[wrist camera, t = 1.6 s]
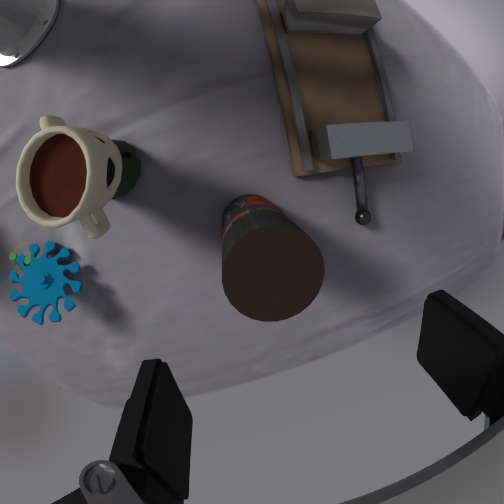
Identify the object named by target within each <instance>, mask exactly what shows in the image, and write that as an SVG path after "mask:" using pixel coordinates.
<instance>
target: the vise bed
mask: <svg viewBox="0 0 504 504" xmlns="http://www.w3.org/2000/svg"><path fill="white" fill-rule="evenodd" d="M256 3H257V7H258V10H259V14H260V18H261V21H262V25H263V29H264V33H265V37H266V41H267V45H268V49H269V53H270V58H271V62H272V66H273V71H274V75H275V79H276V84H277V89H278V93H279V98H280V103H281V108H282V112H283V117H284V123H285V128H286V133H287V138H288V144H289V149H290V155H291V160H292V166H293V172H294V176H303V175H309V174H316V173H322V172H329V171H336V170H344V169H351V168H352V164H351V158H350V157H347V158H339V159H314V156H313V150H312V144H311V139H310V133H309V131H310V130H313V129H316V128H319V127H322V126H325V125H334V124H348V123H365V122H395V116H394V111H393V106H392V101H391V96H390V92H389V87H388V83H387V79H386V75H385V71H384V67H383V63H382V59H381V56H380V52H379V49H378V46H377V42H376V39H375V36H374V33H373V30H372V27H371V26H373V25H374V24H375V23H377V22H378V21H379V20H381V19H382V17H381V15H380V12H379V9H378V7H377V4H376V2H375V0H256ZM362 163H363V167H367V166H376V165H385V164H395V163H401V155H400V152H399V153H386V154H375V155H365V156H362Z"/></svg>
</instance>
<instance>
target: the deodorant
mask: <svg viewBox="0 0 504 504" xmlns="http://www.w3.org/2000/svg"><path fill="white" fill-rule="evenodd" d="M323 278H324V261H323V257H322V255H321V252H320V250H319V247H318V246H317V245H316V244H315V242H314V241H313V240H312V239H311V238H310V237H309V236H308V235H307V234H306V233H305V232H304V231H303V230H301V229H300V228H299V227H298V226H297V225H296V224H295V223H293V222H292V221H291V220H290V219H289V218H288V217H287V216H285V215H284V214H283V213H282V212H281V211H280V210H278V209H277V208H276V207H275V206H274V205H273V204H271V203H270V202H269V201H268V200H266V199H265V198H263V197H261V196H258V195H250V194H248V195H243V196H240V197H238V198H236V199H234V200H233V201H232V202H231V203H230V204H229V205H228V206H227V208H226V209H225V211H224V214H223V217H222V284H223V288H224V292H225V295H226V296H227V298H228V300H229V301H230V303H231V305H232V306H234V307H235V308H236V309H237V310H238V311H239V312H240V313H242V314H243V315H245V316H247V317H249V318H251V319H255V320H259V321H267V322H268V321H280V320H284V319H288V318H290V317H293V316H295V315H297V314H299V313H300V312H302V311H303V310H304V309H305V308H307V307H308V306H309V305H310V304H311V303H312V301H313V300H314V299H315V297H316V296H317V295H318V293H319V290H320V288H321V286H322V284H323Z"/></svg>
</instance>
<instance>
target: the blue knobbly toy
mask: <svg viewBox="0 0 504 504" xmlns="http://www.w3.org/2000/svg"><path fill="white" fill-rule="evenodd" d="M29 250H30V252H31V258H30V257H29V256H26V257H25V256H24V255H23V254H20V255H18V256H17V255H16V254H15V253H14V252H12V253H11V254H10V256H9V258H10V260H11V261H12V262H13V263H14V264H18V265H19V267H20V268H21V270H22V271H23V273H24V276H23V277H22V278H21V279H19V276H18V274H17V273H16V272H15V271H14V270H12V271H11V272H10V274H9V277H8V278H9V280H10V281H11V282H13V283H20V284H21V285H22V286H23V291H22V292H21V293H18V292H17V291H16V290H15V289H11V290H10V299H11V300H12V301H14V302H16V301H17V300H19V299H21V298H27V299H29V304H28V305H26V306H25V305H20V306H18V308H17V309H18V312H19V313H20V315H21V316H22V317H23V318H25V317H27V315H28V313H29V311H30V310H31V309H32V308H34V307H36V306H40V311H39V312H38V313H36V314H34V315H33V317H32V320H33V321H34V322H35V323H37V324H39V325H43V323H44V313H45V311H46V309H47V307H48V306H50V305H52V306H53V310H52V312H51V313H50V320H51V321H52V322H60V321H61V316H60V314H59V312H58V300H59V298H64V307H65V309H66V310H67V311H68V312H69V311H71V310H73V309H74V308H75V307H76V305H75V303H74V302H73V301H72V300H71V299H69V298H68V297H67V296H66V294H65V291H64V288H65V286H66V285H70V286H71V288H72V290H73V292H74V293H76V294H78V293H79V292H80V290H81V287H82V285H81V283H80V282H79V281H71V280H69V279H67V278H66V277H65V276H64V273H65V272H66V271H70V272H71V273H73V274H74V275H77V274H79V265H78V262H72V263H71V264H69V265H65V266H64V265H58V262H59V260H61V259H63V260H68V259H69V258H70V254H69V251H68V250H67V248H66V247H63V248H62V249H61V251H60V252H59V253H58V254H57V255H56V256H55V257H53V258H50V259H49V258H48V255H49V254H50V253H53V252H54V251H55V250H56V246H55V244H54V243H53V242H50V241H47V242H46V245H45V251H44V253H43V255H42V256H41V257H40V258H39V259H36V256H37V254H38V253H39V251H40V248H39V246H38V244H32V245H30V246H29Z"/></svg>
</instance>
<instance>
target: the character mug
mask: <svg viewBox="0 0 504 504" xmlns="http://www.w3.org/2000/svg"><path fill="white" fill-rule="evenodd" d="M40 127H41V130H42V131H40V132H38V133H36V134H35V135H34V136H33V137H32V138H31V140H30V141H29V142H28V143H27V145H26V146H25V147H24V149H23V151H22V154H21V157H20V159H19V162H18V165H17V174H16V188H17V193H18V197H19V201H20V204H21V206H22V207H23V209H24V210H25V212H26V214H27V215H28V217H29V218H30V219H32V220H33V221H35V222H36V223H38V224H39V225H41V226H44V227H51V228H59V227H62V226H64V225H67V224H69V223H72V222H74V221H76V220H78V219H79V220H80V222H81V224H82V226H83V228H84V230H85V232H86V234H87V235H88V237H89V238H90V239H97V238H99V237H100V236H102V235H103V234H105V233H106V232H107V231H108V230H109V228H110V223H109V221H108V219H107V217H106V215H105V213H104V211H103V209H102V208H103V207H104V206H105V205H106V204H107V203H108V202H109V201H110V200H111V199H114V198H117V197H120V196H124V195H125V194H126V193H127V192H129V191H130V190H131V189H132V188H133V187H134V186H135V184H136V182H137V179H138V177H139V175H140V160H139V158H132V155H131V154H130V153H129V152H130V151H135V149H134V148H133V147H132V146H131V145H129V144H128V143H126V142H125V141H119V140H111V139H110V138H109V137H108V136H106V135H104V134H103V133H101V132H99V131H96V130H93V129H90V128H81V127H78V126H66V124H65V122H64V120H63V119H62V118H60V117H56V116H51V115H46V116H43V117H41V119H40ZM91 214H93V216H94V218H95V220H96V222H97V224H95V222H94V220H93V218H92V216H91Z"/></svg>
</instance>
